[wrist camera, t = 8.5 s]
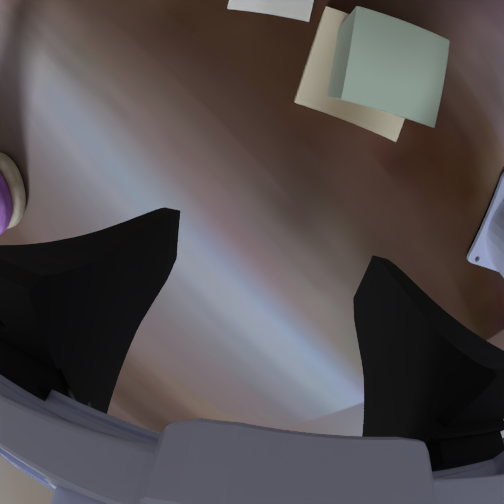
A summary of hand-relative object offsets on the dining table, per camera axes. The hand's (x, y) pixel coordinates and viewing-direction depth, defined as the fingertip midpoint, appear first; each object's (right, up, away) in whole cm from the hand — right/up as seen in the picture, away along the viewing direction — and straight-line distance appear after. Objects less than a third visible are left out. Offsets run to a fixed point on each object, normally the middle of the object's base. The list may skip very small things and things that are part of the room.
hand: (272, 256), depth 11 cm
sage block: (+5, +10, +2) cm, 11 cm away
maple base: (+6, +11, +5) cm, 13 cm away
